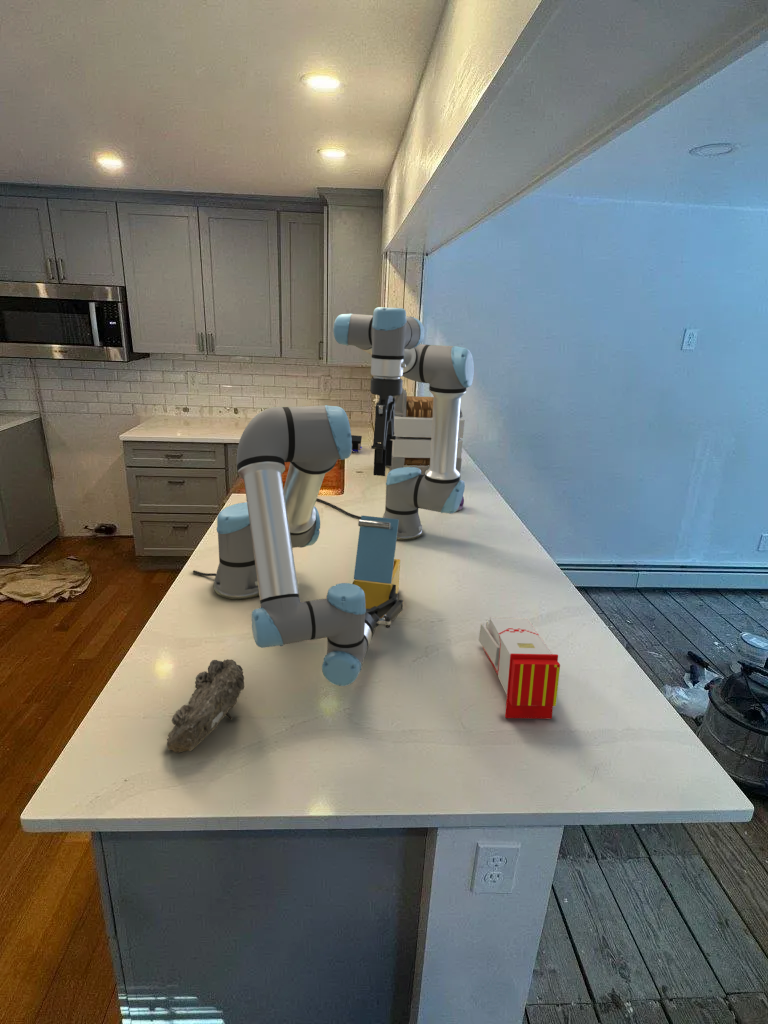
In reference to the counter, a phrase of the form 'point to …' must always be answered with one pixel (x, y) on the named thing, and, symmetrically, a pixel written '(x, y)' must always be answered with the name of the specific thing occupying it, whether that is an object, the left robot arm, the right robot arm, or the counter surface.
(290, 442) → the left robot arm
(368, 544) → the lid
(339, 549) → the counter surface
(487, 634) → the toy
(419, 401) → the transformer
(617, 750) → the counter surface
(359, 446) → the figurine character
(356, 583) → the chest
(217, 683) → the fossil
